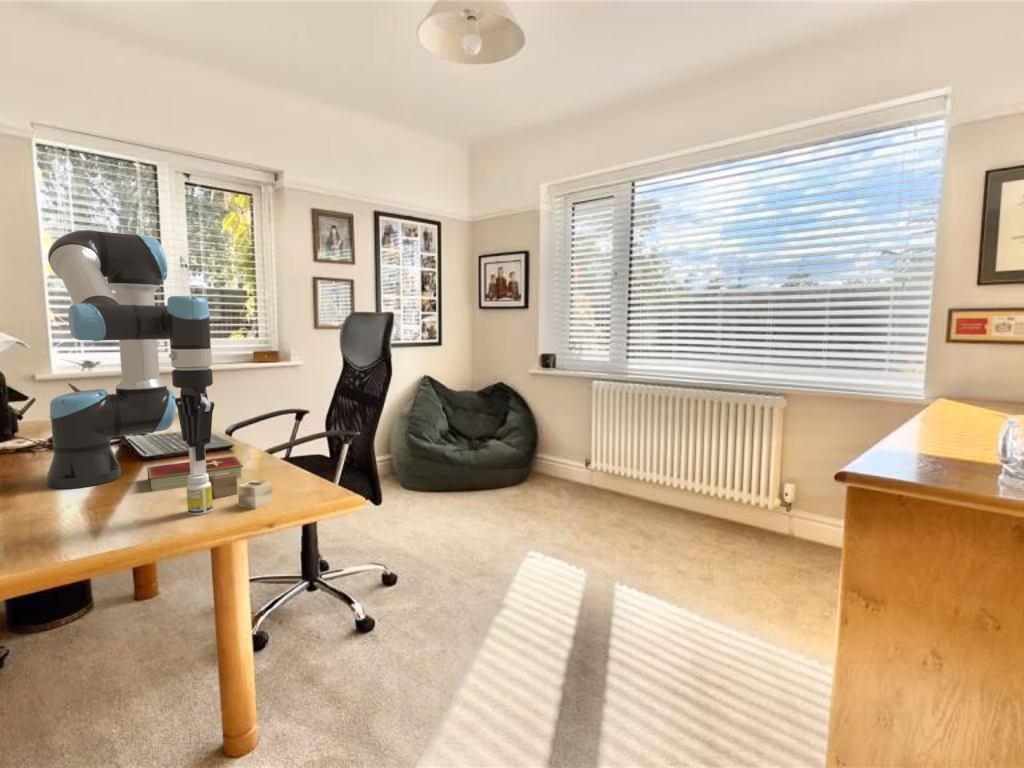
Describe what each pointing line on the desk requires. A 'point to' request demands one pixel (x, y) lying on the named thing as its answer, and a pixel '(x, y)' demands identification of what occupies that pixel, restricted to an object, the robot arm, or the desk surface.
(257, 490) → the beech block
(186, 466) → the hardcover book
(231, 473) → the walnut block
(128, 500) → the desk surface
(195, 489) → the supplement bottle
